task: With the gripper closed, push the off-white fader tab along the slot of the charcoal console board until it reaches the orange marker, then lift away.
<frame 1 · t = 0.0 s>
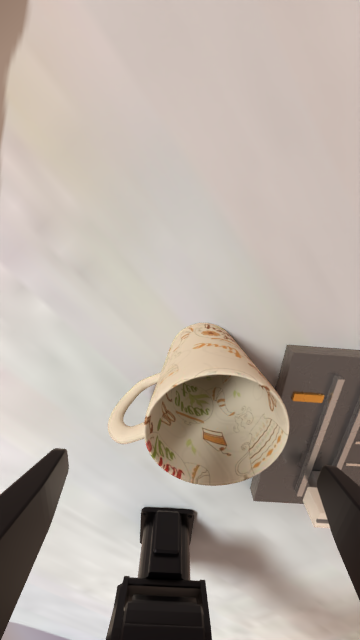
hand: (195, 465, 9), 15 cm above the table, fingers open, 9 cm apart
fader tab: (328, 497, 25), point 4 cm above the table, slide at -5.0 cm
mug: (182, 359, 24), on the table
console board: (322, 429, 27), on the table
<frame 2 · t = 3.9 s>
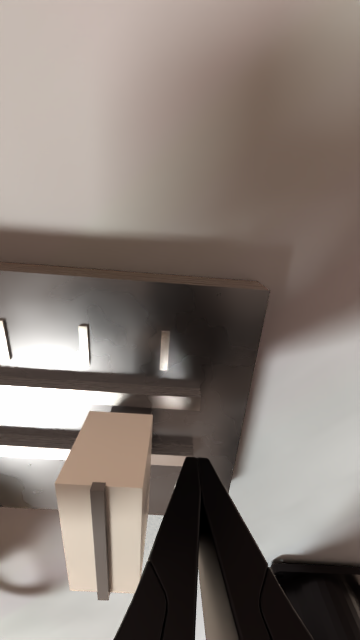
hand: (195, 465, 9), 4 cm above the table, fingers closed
fader tab: (120, 470, 9), point 4 cm above the table, slide at -4.8 cm, touching gripper
console board: (36, 390, 12), on the table
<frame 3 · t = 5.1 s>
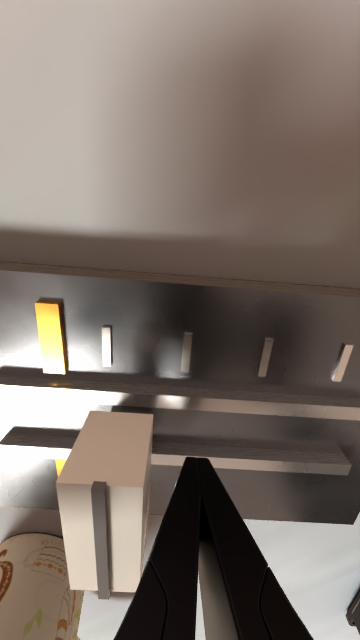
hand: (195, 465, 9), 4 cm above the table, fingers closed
fader tab: (120, 470, 9), point 4 cm above the table, slide at 2.0 cm, touching gripper
mug: (63, 572, 18), on the table
console board: (179, 399, 12), on the table
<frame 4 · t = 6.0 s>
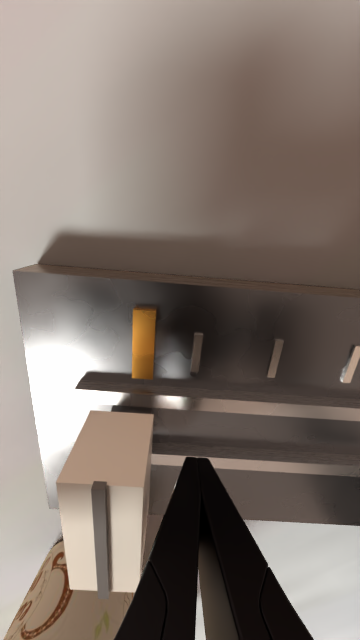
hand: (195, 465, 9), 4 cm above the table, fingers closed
fader tab: (120, 470, 9), point 4 cm above the table, slide at 5.4 cm, touching gripper
mug: (110, 575, 18), on the table
console board: (249, 404, 12), on the table
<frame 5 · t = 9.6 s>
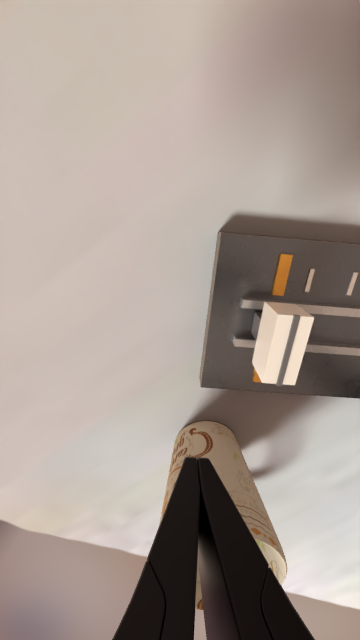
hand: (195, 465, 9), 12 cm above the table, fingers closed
fader tab: (274, 336, 17), point 4 cm above the table, slide at 5.5 cm
mug: (213, 456, 26), on the table
console board: (326, 321, 20), on the table
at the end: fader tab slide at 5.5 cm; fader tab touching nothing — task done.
